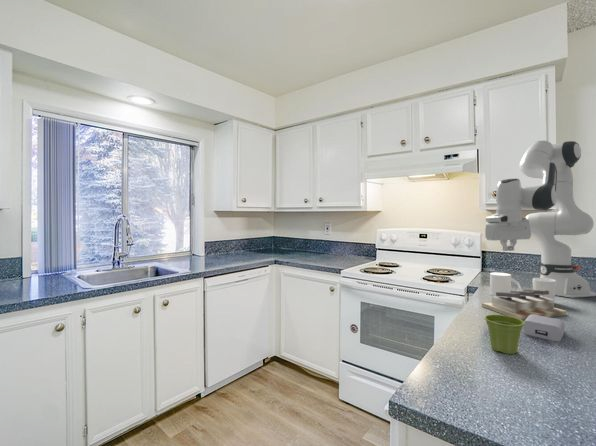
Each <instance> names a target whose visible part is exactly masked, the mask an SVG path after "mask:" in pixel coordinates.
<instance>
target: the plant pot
mask: <svg viewBox="0 0 596 446" xmlns="http://www.w3.org/2000/svg"><path fill="white" fill-rule="evenodd" d="M484 320H485V322H486V325H487V327H488V334H489V341H490V347H491V349H492V350H494V351H496V352H501V353H503V354H508V355H512V354H513V355H514V354H517V352H518V349H519V342H520V335H521V331H523V325H524V320H520V319H517V318H514V317H510V316H507V315H504V314H487V315H485V316H484Z"/></svg>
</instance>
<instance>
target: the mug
mask: <svg viewBox="0 0 596 446" xmlns="http://www.w3.org/2000/svg"><path fill="white" fill-rule="evenodd" d="M512 283H514V284H515V285H516V286H517V288H518V289H516V291H522V287H521V284H520V283H519V282H518V281H517V280H516V279H515V278H513V277H512V275H511V274H510V273H506V272H495V271H494V272H490V273H489V289H490V290H489V295H490V296H491V297H494V296H496V292H510V291H512Z"/></svg>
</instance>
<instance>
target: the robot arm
mask: <svg viewBox="0 0 596 446" xmlns="http://www.w3.org/2000/svg"><path fill="white" fill-rule="evenodd" d="M581 156H582V149H581V146H580V144H579V143H578V142H576V141H572V140H571V141H564V142H558V143H554V144H552V143H551V142H550V141H548V140H537V141H535V142H533V143H532V144H531V145H530V146H529V147H528V148H527V149H526V151H525V152H524V153H523V155H522V158H521V160H520V162H519V170H520V171H521V172H522V174H524V175H525V177H526V176H527V177H528V178H532V179H542V184H541V185H537V186H535V185H534V186H525V187H524V186H523V187H522V185H521V180H520V179H519V178H506V179H502V180H500V181H498V182H497V187H496V191H495V192H496V195H495V199H496V205H497V206H496V210H495V213H494V214H491V215H488V216H486V217H485V221H486V224H485V229H484V230H485V235H484V237H485V239H486V240H488V241H495V242H496V241H500V244H501V247H502V251H504V252H508V251H515V246H516V244H517V243H518V240H519V241H520V240H530V238H532V237H534V238H535V240H536V241H537V242H538V244H539V247H540V255H541V256H540V257H541V260H540V261H541V262H539V263H540V264H539V271H540V275H539V278H548V279H553V280H556V288H555V296H560V297H566V298H586V297H596V292H595V291H591V287H590V282H589V281H588V280H587V279H586V278H584V277H582V276H581V275H580V274H578V273H576V271H580V270H581V266H580V265H573V264H572V249H571V247H570V246H569V245H567V244H566V243H563V242H561V241H559V240H557V239H556V238H555V236H582V235H587V234H589V233H590V232H591V231H592V229H594V225H595V224H594V223H595V222H594V219H593V218H592V216H591V215H590V214H589V213H587V212H585V211H583V210H582V209H581V208H580V207H578V205H577V204H576V203H575V199H574V178H573V172H572V168H574V166H575V164H577V163H578V161H579V160H580V158H581ZM553 207H554V208H556V209H558V211H554V212H553V211H549V212H548V210H550V209H551V208H553ZM524 210H528V211H529V210H531V211H533V210H536V211H544V212H533V213H529V214H527V215H526V216H524V217H522V215H523V212H522V211H524ZM545 211H546V212H545ZM508 241H509V245H508V244H507V243H508Z"/></svg>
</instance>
